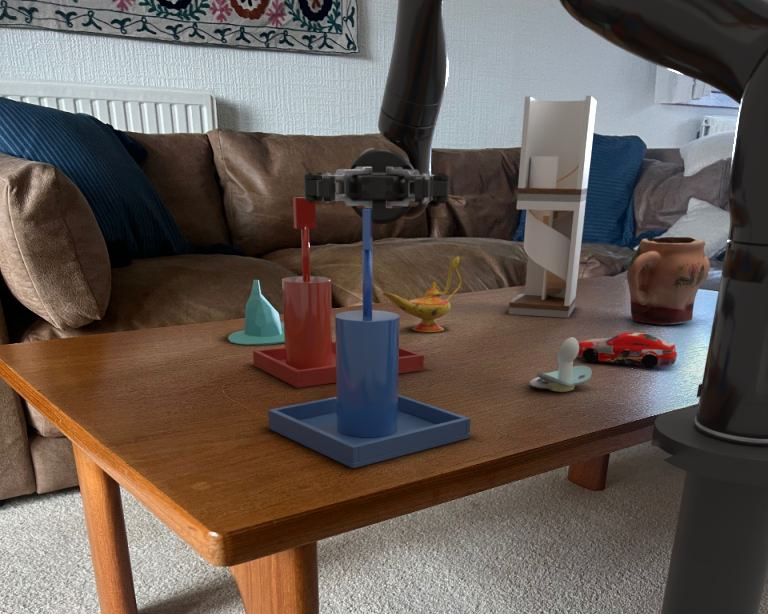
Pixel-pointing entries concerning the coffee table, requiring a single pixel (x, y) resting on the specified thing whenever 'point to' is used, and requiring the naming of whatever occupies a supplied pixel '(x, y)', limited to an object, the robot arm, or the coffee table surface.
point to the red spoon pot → (307, 304)
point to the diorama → (259, 322)
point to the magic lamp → (428, 304)
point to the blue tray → (414, 433)
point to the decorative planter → (666, 279)
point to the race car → (629, 350)
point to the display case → (553, 201)
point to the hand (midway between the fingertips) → (372, 189)
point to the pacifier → (564, 370)
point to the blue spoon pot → (367, 359)
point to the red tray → (276, 366)
